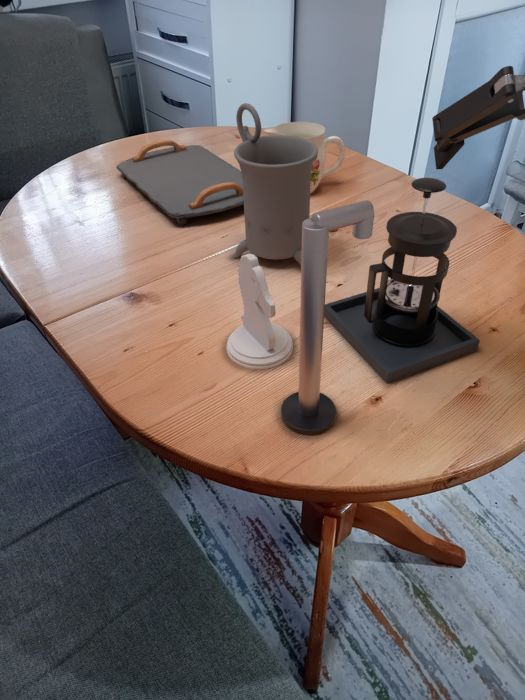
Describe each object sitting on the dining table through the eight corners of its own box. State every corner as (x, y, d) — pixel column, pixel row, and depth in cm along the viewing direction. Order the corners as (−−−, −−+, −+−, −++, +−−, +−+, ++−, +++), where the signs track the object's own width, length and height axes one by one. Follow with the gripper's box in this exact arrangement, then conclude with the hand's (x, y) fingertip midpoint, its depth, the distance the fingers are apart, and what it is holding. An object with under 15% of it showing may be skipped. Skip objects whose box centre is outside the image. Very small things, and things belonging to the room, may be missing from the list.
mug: (338, 258, 98) (348, 115, 82) (275, 287, 91) (273, 138, 75) (273, 222, 110) (271, 90, 93) (213, 245, 103) (200, 108, 87)
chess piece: (248, 379, 74) (242, 289, 65) (215, 341, 81) (205, 254, 71) (306, 353, 78) (308, 264, 68) (270, 319, 85) (267, 234, 75)
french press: (421, 304, 86) (449, 162, 71) (451, 340, 79) (489, 191, 64) (352, 317, 84) (366, 174, 69) (376, 355, 77) (398, 205, 62)
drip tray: (403, 289, 90) (405, 279, 89) (477, 350, 78) (480, 340, 76) (322, 315, 85) (322, 304, 84) (386, 384, 73) (388, 373, 72)
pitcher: (349, 194, 118) (355, 130, 110) (270, 203, 116) (268, 139, 107) (334, 175, 127) (338, 114, 118) (260, 183, 124) (258, 122, 115)
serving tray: (276, 205, 115) (276, 177, 111) (179, 235, 106) (174, 206, 102) (196, 151, 141) (193, 127, 137) (111, 172, 132) (106, 147, 128)
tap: (337, 382, 74) (354, 186, 55) (366, 416, 69) (395, 214, 50) (272, 406, 70) (267, 207, 52) (296, 443, 66) (300, 238, 47)
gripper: (469, 93, 43) (394, 192, 64) (770, 74, 44) (598, 177, 65) (458, 3, 43) (388, 131, 64) (756, -13, 44) (590, 118, 65)
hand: (493, 154), depth 65 cm, fingers open, 13 cm apart
